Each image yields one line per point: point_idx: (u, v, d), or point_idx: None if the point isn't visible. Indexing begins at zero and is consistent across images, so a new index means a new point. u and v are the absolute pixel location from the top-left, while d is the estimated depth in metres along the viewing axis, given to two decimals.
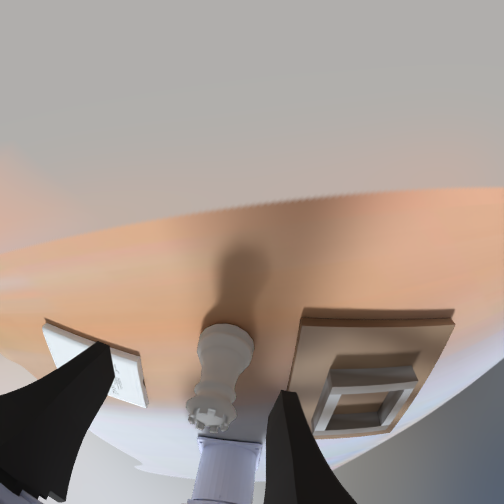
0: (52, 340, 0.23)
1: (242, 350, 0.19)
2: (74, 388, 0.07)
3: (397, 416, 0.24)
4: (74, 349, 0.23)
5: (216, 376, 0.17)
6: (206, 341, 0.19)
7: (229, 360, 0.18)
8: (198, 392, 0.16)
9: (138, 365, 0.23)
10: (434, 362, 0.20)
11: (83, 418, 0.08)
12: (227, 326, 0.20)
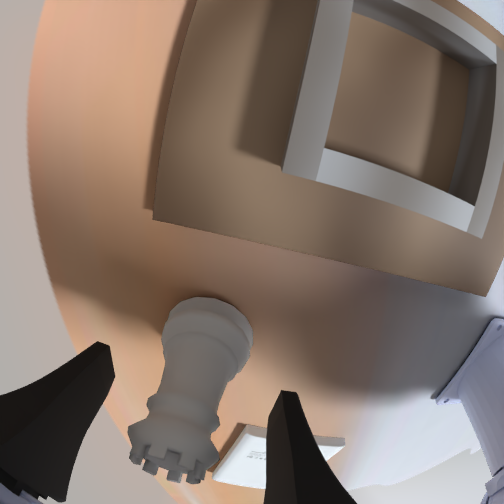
0: (226, 479, 0.20)
1: (180, 325, 0.11)
2: (74, 388, 0.07)
3: (493, 35, 0.06)
4: (234, 470, 0.19)
5: None
6: None
7: (169, 357, 0.10)
8: None
9: (255, 432, 0.17)
10: None
11: (83, 418, 0.08)
12: None
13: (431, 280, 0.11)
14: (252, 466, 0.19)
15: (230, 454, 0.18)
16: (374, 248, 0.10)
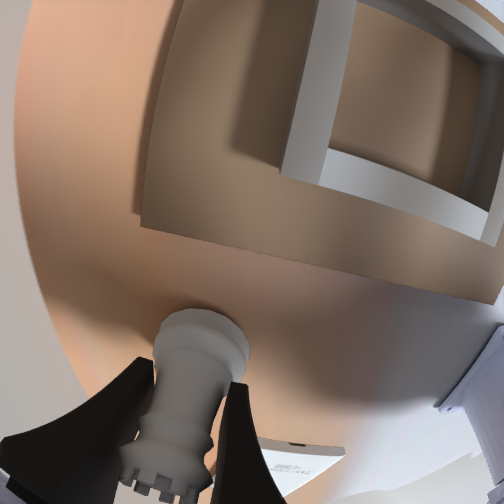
0: None
1: (171, 339, 0.10)
2: (123, 409, 0.07)
3: (502, 31, 0.05)
4: None
5: None
6: None
7: (160, 373, 0.10)
8: None
9: None
10: None
11: (127, 437, 0.08)
12: None
13: (439, 290, 0.10)
14: None
15: None
16: (380, 257, 0.09)
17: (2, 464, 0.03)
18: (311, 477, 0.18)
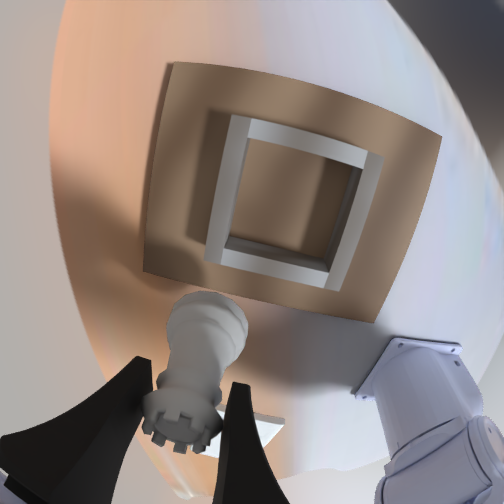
0: None
1: (186, 314, 0.13)
2: (121, 409, 0.07)
3: (391, 123, 0.13)
4: None
5: None
6: None
7: (176, 341, 0.12)
8: None
9: None
10: (246, 73, 0.13)
11: (125, 436, 0.08)
12: None
13: (317, 311, 0.19)
14: (218, 437, 0.27)
15: None
16: (271, 291, 0.18)
17: (0, 462, 0.03)
18: (263, 443, 0.26)
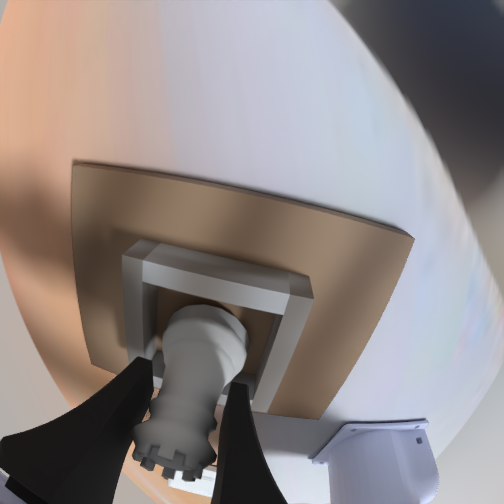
0: (176, 486, 0.27)
1: (186, 330, 0.12)
2: (122, 409, 0.07)
3: (338, 232, 0.12)
4: (178, 480, 0.25)
5: (158, 394, 0.10)
6: None
7: (172, 360, 0.11)
8: None
9: None
10: (145, 181, 0.11)
11: (127, 437, 0.08)
12: None
13: (256, 411, 0.17)
14: None
15: None
16: None
17: (1, 463, 0.03)
18: None
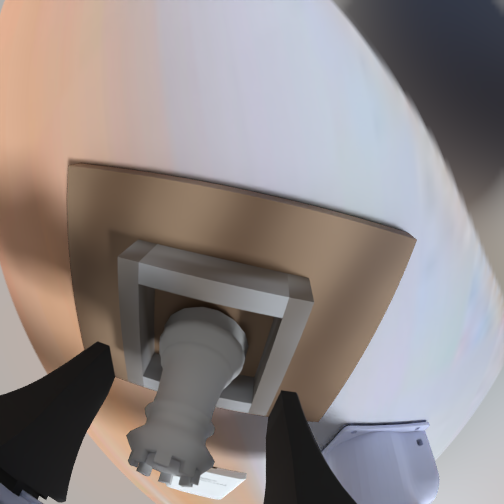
0: (175, 487, 0.26)
1: (184, 333, 0.12)
2: (74, 388, 0.07)
3: (339, 233, 0.11)
4: (177, 481, 0.25)
5: None
6: None
7: (169, 363, 0.11)
8: None
9: None
10: (141, 181, 0.11)
11: (83, 418, 0.08)
12: (167, 326, 0.13)
13: (255, 413, 0.16)
14: None
15: None
16: None
17: None
18: (230, 488, 0.24)
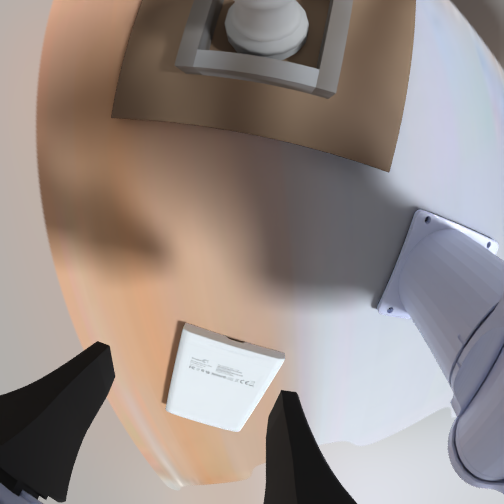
0: (178, 409, 0.24)
1: None
2: (74, 388, 0.07)
3: None
4: (182, 392, 0.23)
5: None
6: (228, 27, 0.10)
7: None
8: None
9: (192, 329, 0.20)
10: None
11: (83, 418, 0.08)
12: None
13: (315, 146, 0.14)
14: (197, 385, 0.22)
15: (174, 365, 0.22)
16: (255, 118, 0.14)
17: None
18: (258, 394, 0.22)
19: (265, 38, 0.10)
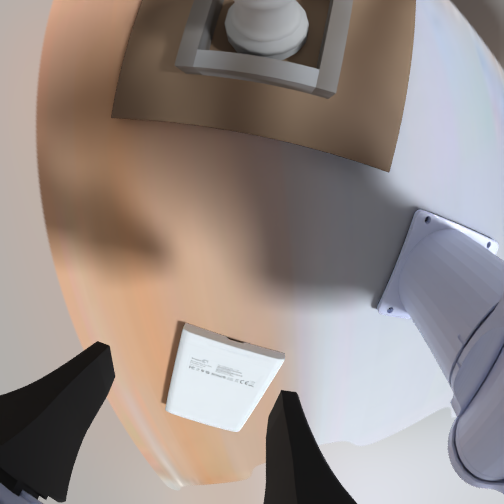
0: (178, 409, 0.24)
1: None
2: (74, 388, 0.07)
3: None
4: (182, 392, 0.23)
5: None
6: (228, 27, 0.10)
7: None
8: None
9: (192, 330, 0.20)
10: None
11: (83, 418, 0.08)
12: None
13: (315, 146, 0.14)
14: (197, 385, 0.22)
15: (174, 365, 0.22)
16: (255, 118, 0.14)
17: None
18: (257, 394, 0.22)
19: (265, 38, 0.10)
